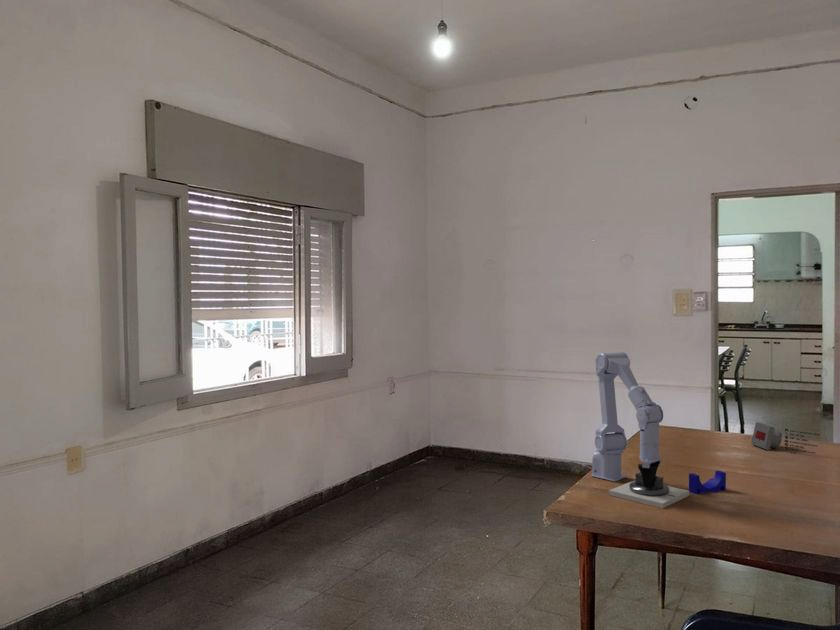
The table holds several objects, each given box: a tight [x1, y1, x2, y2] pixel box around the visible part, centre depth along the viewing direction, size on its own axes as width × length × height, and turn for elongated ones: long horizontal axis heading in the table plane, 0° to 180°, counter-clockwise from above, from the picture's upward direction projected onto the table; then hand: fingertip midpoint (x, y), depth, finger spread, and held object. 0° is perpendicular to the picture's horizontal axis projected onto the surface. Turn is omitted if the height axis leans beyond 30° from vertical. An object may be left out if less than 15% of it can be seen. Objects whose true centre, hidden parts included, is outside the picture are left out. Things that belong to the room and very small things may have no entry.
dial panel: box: [608, 479, 690, 509], centre depth 206 cm, size 18×18×2 cm
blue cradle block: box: [688, 470, 727, 495], centre depth 211 cm, size 12×4×6 cm, turn 107°
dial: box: [629, 471, 669, 496], centre depth 206 cm, size 12×12×4 cm
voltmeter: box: [751, 421, 821, 455], centre depth 263 cm, size 27×11×10 cm, turn 41°
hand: (649, 485), depth 206 cm, fingers closed on dial, 5 cm apart
